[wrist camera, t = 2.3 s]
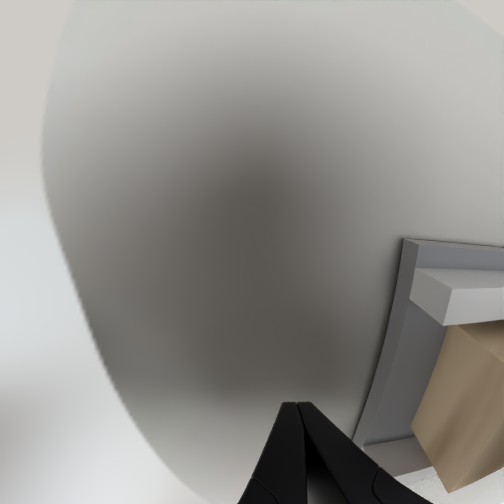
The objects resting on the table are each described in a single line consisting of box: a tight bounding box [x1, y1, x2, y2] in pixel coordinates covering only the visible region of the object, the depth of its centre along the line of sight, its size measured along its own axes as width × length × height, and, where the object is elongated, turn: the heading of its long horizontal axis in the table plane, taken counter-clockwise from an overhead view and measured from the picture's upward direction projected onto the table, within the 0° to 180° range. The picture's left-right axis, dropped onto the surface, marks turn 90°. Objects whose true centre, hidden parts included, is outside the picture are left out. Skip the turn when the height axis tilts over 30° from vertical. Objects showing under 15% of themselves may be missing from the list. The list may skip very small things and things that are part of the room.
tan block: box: [410, 319, 504, 493], centre depth 7 cm, size 5×5×4 cm
